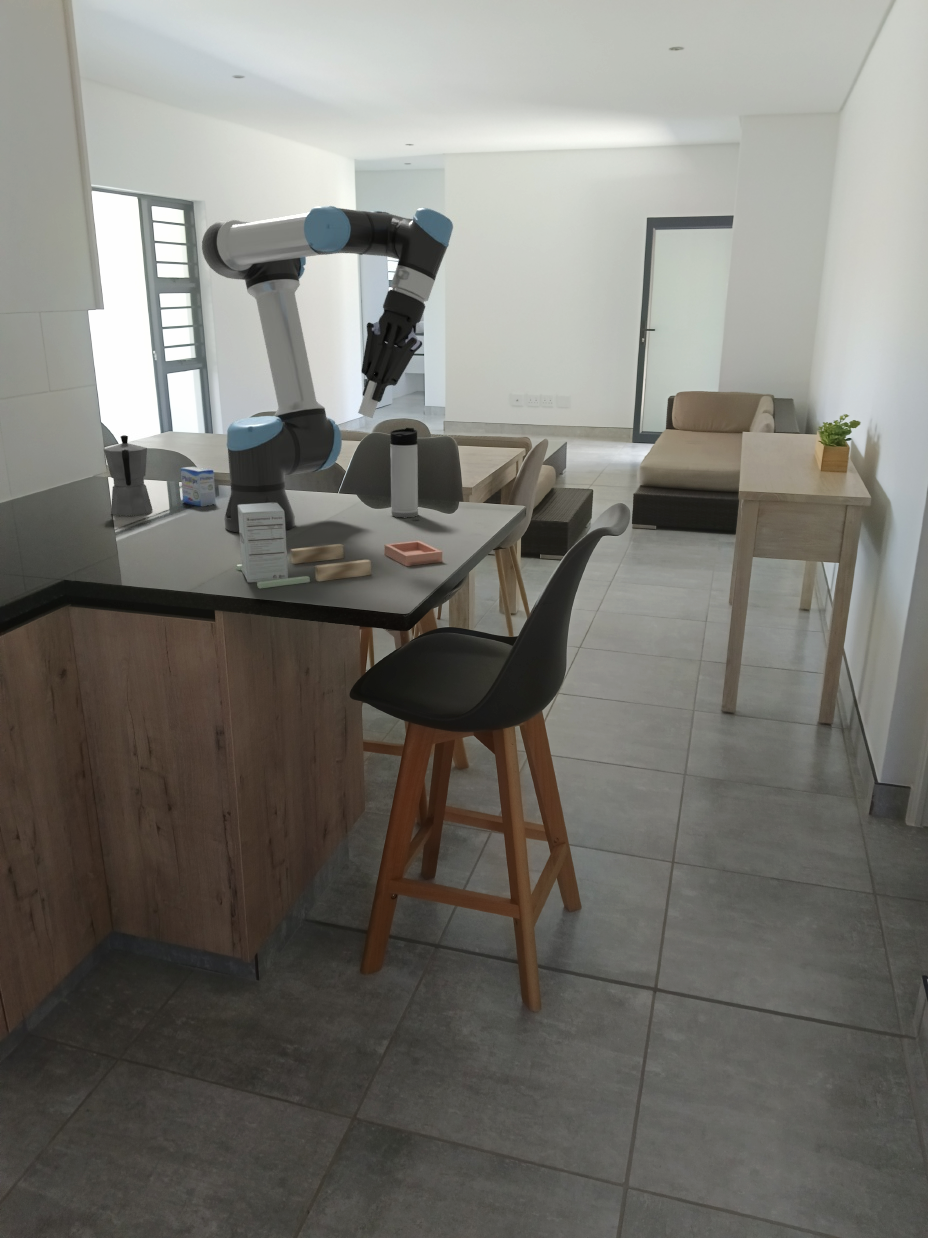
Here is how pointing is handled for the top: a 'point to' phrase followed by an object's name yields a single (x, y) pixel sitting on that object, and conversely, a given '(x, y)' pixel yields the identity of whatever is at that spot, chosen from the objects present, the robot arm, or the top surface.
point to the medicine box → (198, 486)
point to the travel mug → (404, 473)
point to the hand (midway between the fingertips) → (365, 415)
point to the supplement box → (263, 542)
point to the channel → (333, 569)
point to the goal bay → (279, 582)
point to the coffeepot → (128, 479)
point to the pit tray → (413, 553)
